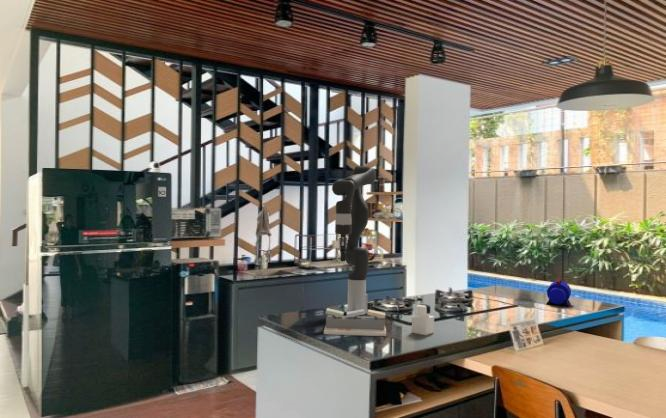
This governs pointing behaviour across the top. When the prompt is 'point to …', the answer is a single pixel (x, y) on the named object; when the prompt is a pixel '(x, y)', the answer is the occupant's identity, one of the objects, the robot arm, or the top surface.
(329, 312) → the plate
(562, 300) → the alarm clock
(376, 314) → the beige flat panel
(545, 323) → the top surface
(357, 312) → the pale grey-blue box
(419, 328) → the medicine bottle
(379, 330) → the switch panel
